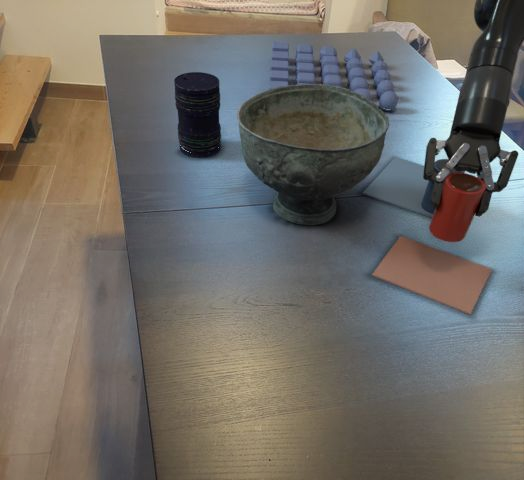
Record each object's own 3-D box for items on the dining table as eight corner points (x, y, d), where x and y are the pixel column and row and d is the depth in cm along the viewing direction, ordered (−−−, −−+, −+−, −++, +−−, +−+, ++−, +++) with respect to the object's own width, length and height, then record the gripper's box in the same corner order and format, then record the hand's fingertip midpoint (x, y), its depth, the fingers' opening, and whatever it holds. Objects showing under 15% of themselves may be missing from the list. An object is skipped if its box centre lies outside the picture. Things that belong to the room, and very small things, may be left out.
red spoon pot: (470, 228, 87) (490, 180, 80) (459, 246, 83) (479, 197, 77) (435, 216, 89) (452, 168, 82) (423, 233, 85) (440, 185, 79)
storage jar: (228, 144, 122) (228, 77, 110) (208, 162, 116) (206, 94, 104) (192, 134, 124) (188, 68, 113) (171, 151, 118) (164, 83, 107)
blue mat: (473, 183, 115) (474, 181, 114) (447, 223, 103) (448, 222, 103) (395, 158, 121) (395, 156, 120) (362, 194, 110) (362, 192, 109)
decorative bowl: (392, 200, 107) (412, 103, 92) (333, 264, 93) (346, 162, 78) (286, 165, 117) (289, 72, 102) (218, 218, 103) (210, 119, 88)
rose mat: (491, 270, 94) (492, 269, 94) (469, 315, 86) (470, 313, 86) (400, 237, 100) (400, 235, 99) (371, 275, 92) (372, 274, 91)
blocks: (271, 58, 159) (272, 41, 156) (381, 65, 160) (385, 48, 156) (268, 107, 136) (269, 87, 132) (396, 115, 136) (401, 95, 133)
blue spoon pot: (454, 204, 108) (469, 164, 101) (445, 218, 104) (460, 177, 97) (426, 195, 110) (439, 155, 103) (416, 208, 106) (429, 168, 99)
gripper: (520, 122, 83) (495, 224, 84) (431, 109, 85) (408, 209, 86) (538, 102, 76) (510, 214, 77) (440, 88, 77) (414, 198, 79)
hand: (456, 211), depth 81 cm, fingers closed on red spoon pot, 6 cm apart
